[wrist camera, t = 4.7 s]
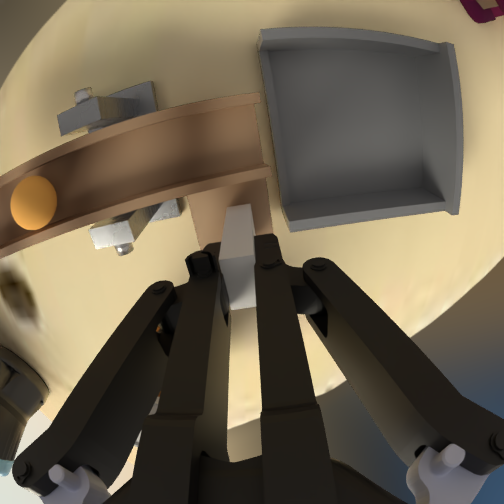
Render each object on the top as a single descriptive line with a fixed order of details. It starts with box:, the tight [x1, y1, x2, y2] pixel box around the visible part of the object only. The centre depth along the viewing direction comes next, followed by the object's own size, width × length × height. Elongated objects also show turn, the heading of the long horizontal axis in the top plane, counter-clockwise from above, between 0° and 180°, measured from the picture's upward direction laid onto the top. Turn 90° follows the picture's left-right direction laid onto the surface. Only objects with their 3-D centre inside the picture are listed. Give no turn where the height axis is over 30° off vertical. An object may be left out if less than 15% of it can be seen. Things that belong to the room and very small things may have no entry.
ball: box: [11, 176, 57, 230], centre depth 12 cm, size 3×3×3 cm
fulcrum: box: [57, 81, 182, 256], centre depth 17 cm, size 6×11×7 cm, turn 9°
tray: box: [257, 27, 463, 232], centre depth 17 cm, size 14×14×5 cm
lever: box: [0, 92, 273, 259], centre depth 15 cm, size 24×11×3 cm, turn 98°
